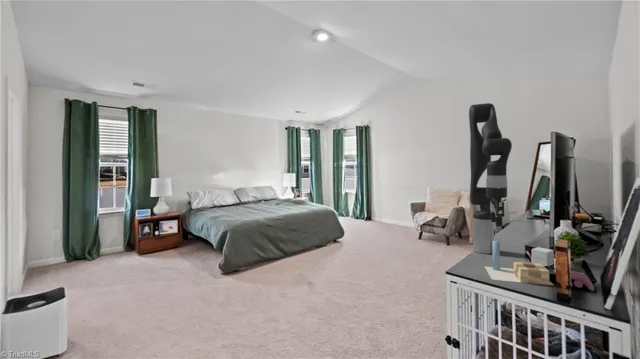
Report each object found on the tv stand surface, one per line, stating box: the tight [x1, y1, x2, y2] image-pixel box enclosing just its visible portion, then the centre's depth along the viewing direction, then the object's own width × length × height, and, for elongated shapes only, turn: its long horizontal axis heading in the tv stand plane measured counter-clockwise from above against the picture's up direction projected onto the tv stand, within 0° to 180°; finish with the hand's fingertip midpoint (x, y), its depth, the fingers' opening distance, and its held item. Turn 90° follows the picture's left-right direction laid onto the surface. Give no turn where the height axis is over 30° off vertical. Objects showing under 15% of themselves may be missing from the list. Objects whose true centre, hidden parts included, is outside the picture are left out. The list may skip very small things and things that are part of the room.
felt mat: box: [484, 266, 554, 286], centre depth 116 cm, size 15×20×1 cm
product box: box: [530, 246, 555, 266], centre depth 126 cm, size 6×6×7 cm
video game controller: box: [570, 270, 595, 292], centre depth 104 cm, size 10×5×7 cm, turn 77°
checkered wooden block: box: [513, 261, 550, 286], centre depth 112 cm, size 9×9×5 cm
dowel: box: [492, 240, 501, 270], centre depth 123 cm, size 3×3×12 cm
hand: (496, 224), depth 122 cm, fingers open, 8 cm apart
